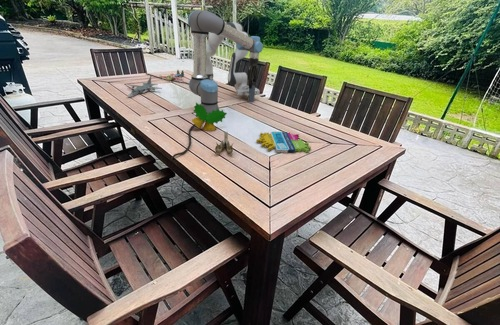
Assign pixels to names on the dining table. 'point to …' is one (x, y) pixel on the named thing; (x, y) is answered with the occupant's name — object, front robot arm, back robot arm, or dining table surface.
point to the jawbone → (224, 145)
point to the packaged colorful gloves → (283, 142)
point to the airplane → (142, 88)
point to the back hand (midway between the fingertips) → (252, 94)
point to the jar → (251, 94)
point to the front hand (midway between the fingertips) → (252, 87)
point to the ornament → (207, 117)
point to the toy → (173, 76)
